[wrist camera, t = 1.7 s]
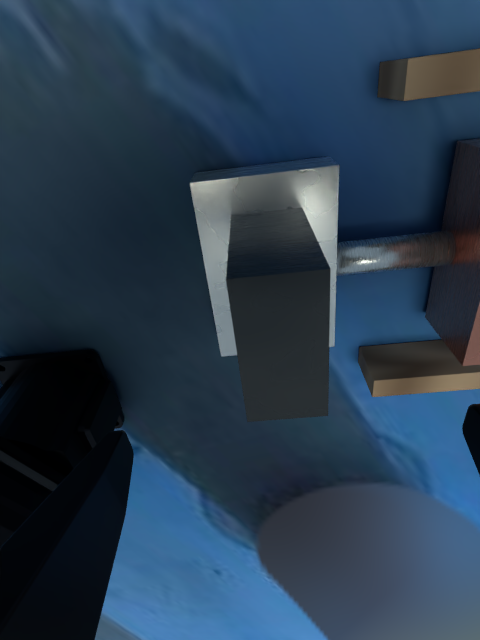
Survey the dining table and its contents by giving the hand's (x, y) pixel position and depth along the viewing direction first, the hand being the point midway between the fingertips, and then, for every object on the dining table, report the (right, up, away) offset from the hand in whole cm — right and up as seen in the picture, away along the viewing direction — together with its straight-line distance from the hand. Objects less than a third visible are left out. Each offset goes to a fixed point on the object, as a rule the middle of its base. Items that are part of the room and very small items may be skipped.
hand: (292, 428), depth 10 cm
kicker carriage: (+4, +6, +9) cm, 12 cm away
